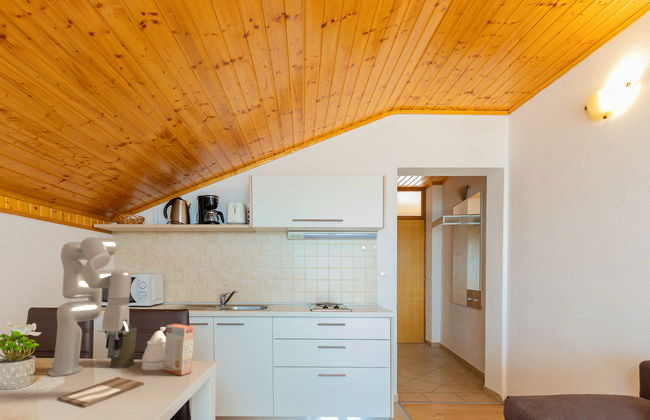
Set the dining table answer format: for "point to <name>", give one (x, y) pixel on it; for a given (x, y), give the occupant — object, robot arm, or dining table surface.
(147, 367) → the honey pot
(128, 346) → the canister
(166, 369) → the cracker box
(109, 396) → the writing board
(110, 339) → the marker
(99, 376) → the dining table surface
